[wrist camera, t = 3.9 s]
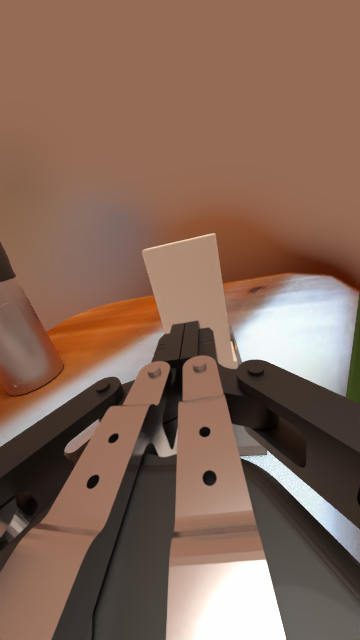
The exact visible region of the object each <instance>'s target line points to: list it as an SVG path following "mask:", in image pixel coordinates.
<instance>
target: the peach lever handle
mask: <svg viewBox="0 0 360 640" xmlns="http://www.w3.org/2000/svg"><path fill="white" fill-rule="evenodd" d="M142 254H143V257H144V261H145V264H146V268H147V271H148V275H149V278H150V282H151V286H152V289H153V292H154V296H155V300H156V303H157V307H158V310H159V314H160V317H161V321H162V324H163V328H164V331H165V334H169V333H170V331H171V327H172V325H173V324H179V323H186V322H191V321H199V324H200V329H201V328H208V327H209V328H210V329H211V330H212V331H213V333H214V338H215V344H216V350H217V356H218V363H219V364H220V365H222V366H224V367H226V368H230V369H237V367H238V363H237V358H236V351H235V344H234V338H233V334H230V333H229V326H228V319H227V312H226V305H225V298H224V291H223V284H222V277H221V270H220V263H219V256H218V250H217V242H216V236H215V233H213V234H208V235H204V236H200V237H195V238H191V239H187V240H182V241H179V242H174V243H169V244H165V245H161V246H156V247H153V248H148V249H145V250H143V251H142Z"/></svg>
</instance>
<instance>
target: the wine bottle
mask: <svg viewBox="0 0 360 640" xmlns="http://www.w3.org/2000/svg"><path fill="white" fill-rule="evenodd" d="M346 398H347V399H350V400H352V401H354V402H356V403H358V404H360V293H359V301H358V309H357V316H356V324H355V332H354V340H353V347H352V355H351V363H350V370H349V378H348V386H347V394H346Z"/></svg>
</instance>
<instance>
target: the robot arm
mask: <svg viewBox="0 0 360 640" xmlns="http://www.w3.org/2000/svg"><path fill="white" fill-rule="evenodd" d="M63 365H64V364H63V362H62V360H61V359H60V357H59V355H58V353H57V351H56V349H55V347H54V345H53V343H52V342H51V340H50V338H49V336H48V334H47V332H46V331H45V329H44V327H43V325H42V323H41V321H40V319H39V318H38V316H37V314H36V312H35V310H34V308H33V307H32V305H31V303H30V301H29V299H28V297H27V295H26V294H25V292H24V290H23V288H22V286H21V285H20V283H19V281H18V279H17V277H16V275H15V273H14V272H13V270H12V268H11V265H10V262H9V259H8V257H7V255H6V252H5V250H4V248H3V246H2V244H1V242H0V384H1V385H2V387H3V388H4V389H5V391H6V392H7V393H8V394H9V395H13V396H15V395H21V394H25V393H28V392H31V391H33V390H35V389H37V388H39V387H41V386H43V385H45V384H46V383H48V382H49V381H51V380H52V379H53V378H55V377H56V376H57V375H58V374H59V373H60V371H61V370H62V368H63ZM97 419H98V420H99V422H100V424H99V425H98V427H97V429H96V431H95V432H94V434H93V436H92V438H91V439H89V440H88V441H87V442H86V443H85V444H83V445H82V446H81V447H80V448H79V449H77V450H76V451H75V452H73V453H65V452H64V449H65V447H66V445H67V444H68V443H69V442H70V441H71V440H72V439H73V438H75V437H76V436H77V435H78V434H80V433H81V432H82V431H83V430H85V429H86V428H87V427H88V426H90V425H91V424H92V423H93V422H95V421H96V420H97ZM232 424H235V425H240V426H244V429H245V431H246V432H247V433H248V434H249V435H250V436H251V437H252V438H253V439H255V440H256V441H257V442H258V443H259V444H260V445H262V446H263V447H264V448H265V449H266V450H268V451H269V452H270V453H271V454H272V455H273V456H275V457H276V458H277V459H278V460H279V461H280V462H282V463H283V464H284V465H285V466H286V467H287V468H289V469H290V470H291V471H292V472H293V473H294V474H296V475H297V476H298V477H299V478H300V479H302V480H303V481H304V482H305V483H306V484H307V485H309V486H310V487H311V488H312V489H313V490H314V491H316V492H317V493H318V494H319V495H320V496H321V497H323V498H324V499H325V500H326V501H327V502H328V503H330V504H331V505H332V506H333V507H334V508H335V509H337V510H338V511H339V512H340V513H341V514H343V515H344V516H345V517H346V518H347V519H348V520H350V521H351V522H352V523H353V524H354V525H355V526H357V527H358V528H359V529H360V404H358V403H356V402H354V401H352V400H350V399H347V398H345V397H343V396H341V395H339V394H337V393H334V392H332V391H330V390H328V389H326V388H323V387H321V386H319V385H317V384H315V383H312V382H310V381H308V380H306V379H304V378H302V377H299V376H297V375H295V374H293V373H291V372H288V371H286V370H284V369H282V368H280V367H277V366H275V365H273V364H271V363H269V362H266V361H263V360H248V361H245V362H243V363H241V364H240V365H239V366H238V367H237V369H230V368H226V367H224V366H222V365H220V364H219V363H218V356H217V350H216V344H215V338H214V333H213V331H212V330H211V329H210V328H209V327H208V328H201V329H200V324H199V321H191V322H186V323H179V324H173V325H172V327H171V331H170V333H169V334H164V335H163V336H162V337H161V338H160V339H159V342H158V346H157V348H156V351H155V354H154V357H153V359H152V362H151V363H150V364H148V365H146V366H144V367H143V368H142V369H141V370H140V372H139V374H138V376H137V378H136V380H134V381H131V382H128V383H125V384H122V385H121V382H120V380H119V379H118V378H116V377H108V378H104V379H102V380H100V381H98V382H96V383H95V384H93V385H92V386H90V387H89V388H87V389H86V390H84V391H83V392H81V393H80V394H78V395H77V396H75V397H74V398H72V399H71V400H69V401H68V402H66V403H65V404H64V405H62V406H61V407H59V408H58V409H56V410H55V411H53V412H52V413H50V414H49V415H47V416H46V417H44V418H43V419H41V420H40V421H38V422H37V423H35V424H34V425H32V426H31V427H29V428H28V429H26V430H25V431H23V432H22V433H20V434H19V435H17V436H16V437H14V438H13V439H12V440H10V441H9V442H7V443H6V444H4V445H3V446H1V447H0V640H360V563H359V562H358V561H357V560H356V559H355V558H354V557H353V556H352V555H351V554H350V553H349V552H348V551H347V550H346V549H345V548H344V547H343V546H342V545H341V544H340V543H339V542H338V541H337V540H336V539H335V538H334V537H333V536H332V535H331V534H330V533H329V532H328V531H327V530H326V529H325V528H324V527H323V526H322V525H321V524H320V523H319V522H318V521H317V520H316V519H315V518H314V517H313V516H312V515H311V514H310V513H309V512H308V511H307V510H306V509H305V508H304V507H303V506H302V505H301V504H300V503H299V502H298V501H297V500H296V499H295V498H294V497H293V496H292V495H291V494H290V493H289V492H288V491H287V490H286V489H285V488H284V487H283V486H282V485H281V484H280V483H279V482H278V481H277V480H276V479H275V478H274V477H273V476H271V475H270V474H269V473H268V472H266V471H265V470H263V469H262V468H260V467H259V466H257V465H255V464H253V463H251V462H249V461H247V460H244V459H241V458H240V455H239V451H238V447H237V443H236V439H235V435H234V431H233V427H232Z"/></svg>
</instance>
